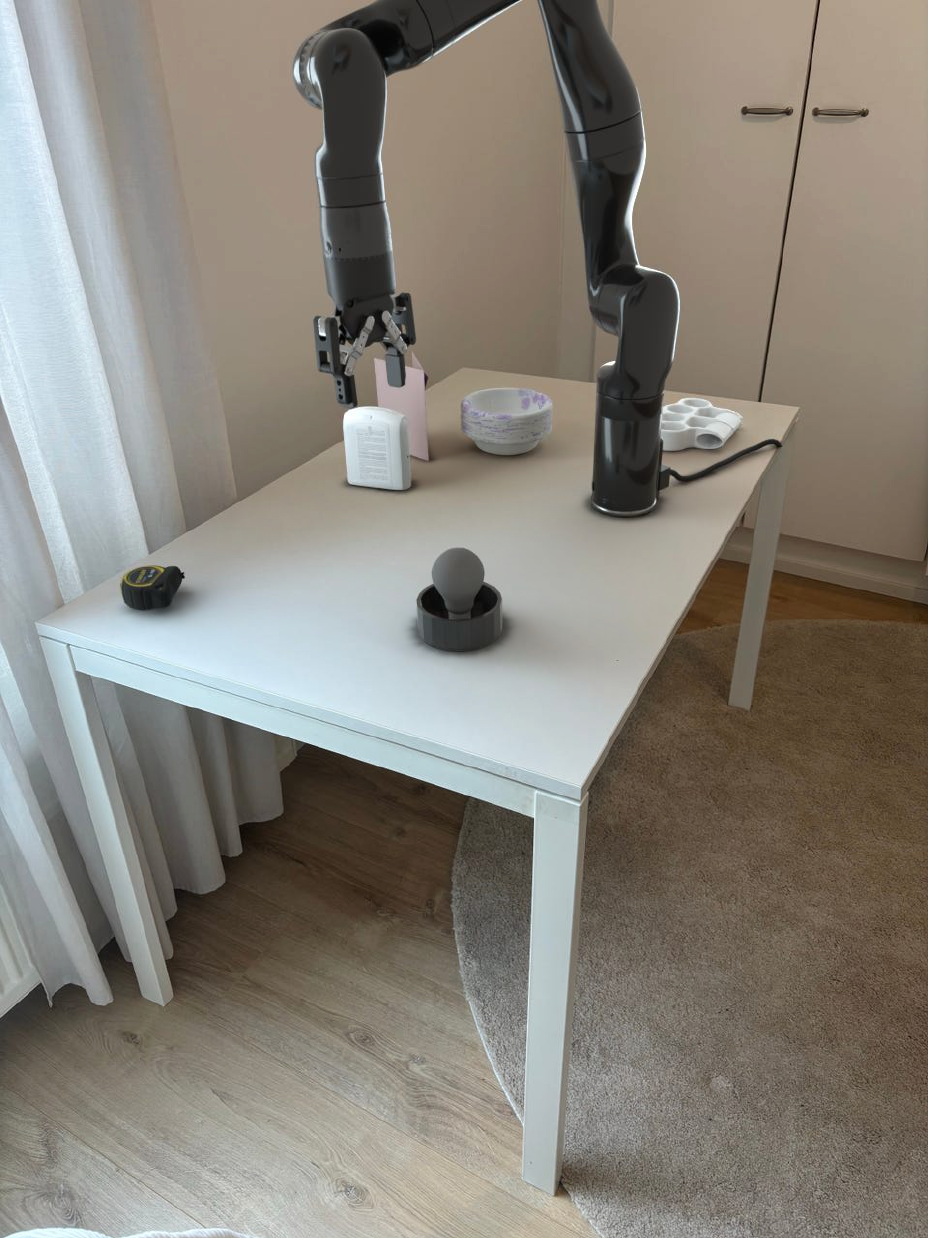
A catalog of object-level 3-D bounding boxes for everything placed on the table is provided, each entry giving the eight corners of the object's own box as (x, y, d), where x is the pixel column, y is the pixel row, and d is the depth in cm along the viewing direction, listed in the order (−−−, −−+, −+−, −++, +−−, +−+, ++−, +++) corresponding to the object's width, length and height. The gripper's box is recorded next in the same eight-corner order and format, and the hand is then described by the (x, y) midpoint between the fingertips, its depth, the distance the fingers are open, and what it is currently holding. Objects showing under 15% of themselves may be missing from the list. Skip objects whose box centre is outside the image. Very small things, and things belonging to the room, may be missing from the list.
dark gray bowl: (462, 598, 117) (461, 570, 115) (519, 628, 111) (519, 598, 109) (401, 628, 112) (399, 599, 110) (457, 661, 106) (456, 631, 104)
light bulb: (480, 642, 108) (478, 564, 103) (429, 637, 109) (425, 561, 104) (489, 615, 113) (488, 540, 108) (440, 611, 114) (437, 536, 109)
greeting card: (433, 460, 156) (429, 370, 148) (389, 465, 155) (382, 374, 147) (421, 436, 166) (416, 350, 158) (379, 440, 164) (372, 354, 156)
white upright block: (415, 482, 149) (411, 405, 142) (406, 493, 145) (401, 415, 139) (355, 476, 151) (347, 400, 145) (344, 486, 148) (336, 409, 141)
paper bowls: (567, 438, 162) (568, 393, 158) (523, 469, 152) (524, 421, 147) (491, 424, 170) (490, 380, 165) (444, 452, 159) (442, 406, 155)
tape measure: (171, 616, 116) (165, 589, 114) (116, 616, 116) (109, 589, 114) (187, 588, 122) (182, 562, 120) (135, 588, 122) (129, 562, 120)
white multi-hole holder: (715, 459, 153) (629, 445, 159) (746, 423, 166) (666, 411, 172) (718, 439, 151) (631, 425, 157) (749, 405, 164) (667, 393, 171)
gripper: (338, 263, 95) (356, 419, 103) (425, 238, 104) (436, 383, 113) (285, 258, 99) (307, 409, 107) (374, 235, 108) (388, 375, 117)
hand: (373, 396), depth 110 cm, fingers open, 8 cm apart
